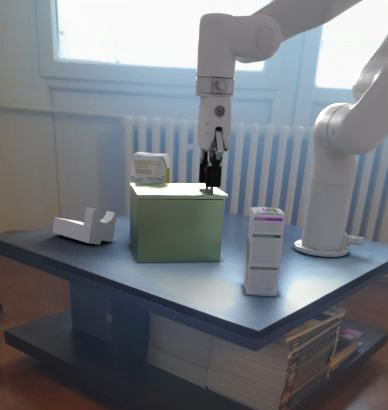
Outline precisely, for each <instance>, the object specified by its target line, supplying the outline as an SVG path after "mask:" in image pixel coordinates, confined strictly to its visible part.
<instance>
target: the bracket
mask: <svg viewBox="0 0 388 410" xmlns="http://www.w3.org/2000/svg"><path fill="white" fill-rule="evenodd" d="M117 217H118V212H115V211H109V210H106V212H105V215H104V216H103V218H101V219H100V218H99V215H98V208H93V207H89V206H86V207H85V213H84V217H83V221H80V220H73V219H68V218H62V217H55V216H54V217H53V225H52V232H51V233H52V234H56V235H60V236H63V237H66V238H70V239H73V240H77V241H79V242H83V243H87V244H92V245H101V243H102V242H109V243H110V242H111V243H113V240H114V235H115V229H116V223H117Z"/></svg>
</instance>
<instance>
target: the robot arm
mask: <svg viewBox="0 0 388 410" xmlns="http://www.w3.org/2000/svg"><path fill="white" fill-rule="evenodd" d="M362 1H363V0H272V1H271V2H269V3H268V4H266V5H264V6H263V7H261V8H260V9H258V10H256V11H255V12H253V13H252V14H250V15H232V14H229V13H224V12H223V13H222V12H209V13H204V14H203V15H201V17H200V18H199V20H198V25H197V27H198V29H197V47H196V48H197V50H196V51H197V52H196V69H195V71H196V73H195V74H196V75H195V77H196V78H195V95H194V96H195V97H199V105H198V115H197V117H198V118H197V135H196V136H197V139H196V140H197V142H196V143H197V146H198V148H200V155H199V166H198V168H199V170H198V182H199V184H205V186H206V187H216V188H221V186H222V185H221V184H222V174H223V173H222V172H223V171H222V170H223V158H224V157H223V155H224V153H225V152H226V153H227V152H229V151H230V149H231V140H232V138H231V137H232V99H233V98H234V93H235V91H234V90H235V80H236V79H235V77H236V65H237V62H238V63H240V64H252V63H260V62H263V61H267V60H269V59H271V58H272V57H273V56H274V55H275V54H276V53H277V52H278V50H279V49H280V46H281V44H282V43H284V42H285V41H287V40H289V39H291V38H293V37H295V36H298V35H300V34H303V33H305V32H308V31H311V30H314V29H316V28H319V27H321V26H322V25H324V24H327V23H329V22H331V21H332V20H334V19H335V18H337V17H339V16H340V15H341V14H343V13H345V12H346V11H348V10H349V9H351V8H352V7H354V6H356V5H358V4H359V3H360V2H362ZM351 95H352V98H353V100H354V101H355V102H356V103H355V102H336V103H333V104H329V105H328V106H326V108H324V109H323V110H321V112H320V113H319V114H318V116H317V118H316V120H315V122H314V126H313V133H312V134H313V135H312V151H313V152H312V164H311V165H312V166H311V173H310V180H309V184H308V192H307V200H306V207H305V214H304V220H303V226H302V227H303V228H302V235H301V239H298V240H296V241H294V243H293V248H294V249H295V250H296V251H298V252H299V253H302V254H305V255H310V256H314V257H315V256H316V257H321V258H323V257H324V258H339V257H344V256H346V255H348V254H349V247H350V246H351V245H353V246H364V244H365V237H364V236H356V235H349V234H348V233H347V232H346V228H347V222H348V215H349V211H350V205H351V199H352V194H353V188H354V183H355V178H356V171H357V167H356V166H357V158H356V156H363V155H367V154H369V153H371V152H373V151H374V150H376V149H377V148H378V147H379V146H380V145H381V144H382V143H383V142H384V141H385V139H387V138H388V33H387V34H386V35H385V37H384V39H383V40H382V41H381V43H380V44H379V45H378V46H377V48H376V49H375V50H374V51H373V53H372V54H371V55H370V56H369V58H368V59H367V60H366V61H365V63H364V64H363V65H362V66H361V68H360V69H359V70H358V72H357V74H356V75H355V77H354V78H353V81H352V84H351ZM206 165H208V166H206ZM204 166H206V173H205V172H204V170H203V169H204Z"/></svg>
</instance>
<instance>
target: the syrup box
mask: <svg viewBox="0 0 388 410" xmlns="http://www.w3.org/2000/svg"><path fill="white" fill-rule="evenodd" d="M248 219H249V220H248V229H247V241H246V251H245V252H246V253H245V265H244V276H243V287H244V291H245V292H244V293H245V295H249V296H259V297H260V296H261V297H262V296H263V297H277V295H278V287H279V279H280V271H281V262H282V253H283V252H282V251H283V244H284V243H283V241H284V233H285V225H286V214H285V212H284V211H283V209H282V208H279V207H271V206H254V207H253V206H250V208H249V216H248Z"/></svg>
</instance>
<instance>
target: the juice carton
mask: <svg viewBox="0 0 388 410" xmlns="http://www.w3.org/2000/svg"><path fill="white" fill-rule="evenodd" d="M131 156H132V157H131V163H130V183H171V160H170V155H169V153H152V152H148V151H147V152H146V151H137V152H134V153H132V155H131Z"/></svg>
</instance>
